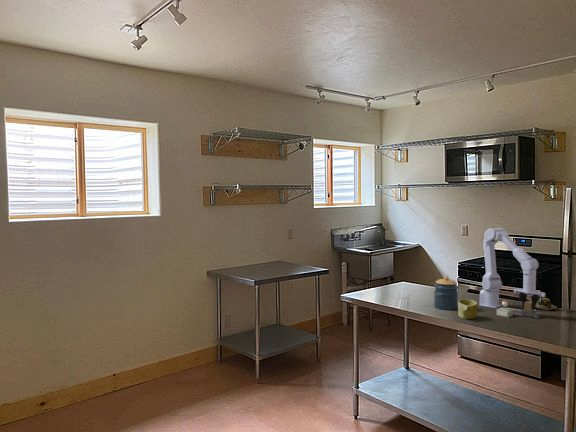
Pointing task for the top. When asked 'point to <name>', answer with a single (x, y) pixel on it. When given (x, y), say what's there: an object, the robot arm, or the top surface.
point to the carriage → (528, 309)
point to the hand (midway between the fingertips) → (528, 308)
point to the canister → (446, 294)
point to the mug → (467, 309)
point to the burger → (545, 304)
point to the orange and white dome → (504, 303)
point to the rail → (517, 311)
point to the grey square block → (504, 312)
